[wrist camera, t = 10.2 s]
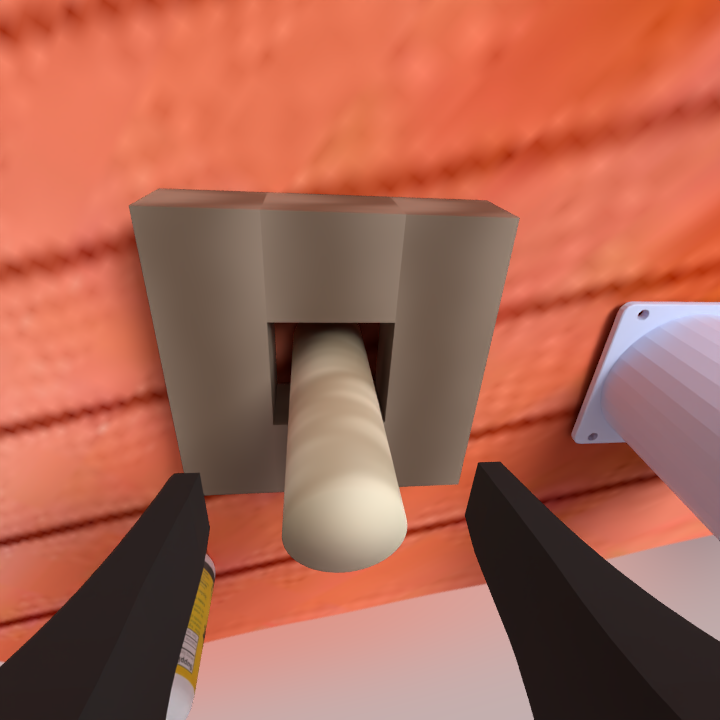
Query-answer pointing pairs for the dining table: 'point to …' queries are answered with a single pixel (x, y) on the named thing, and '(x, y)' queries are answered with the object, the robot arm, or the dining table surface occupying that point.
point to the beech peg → (337, 456)
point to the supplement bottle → (192, 648)
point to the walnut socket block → (319, 317)
